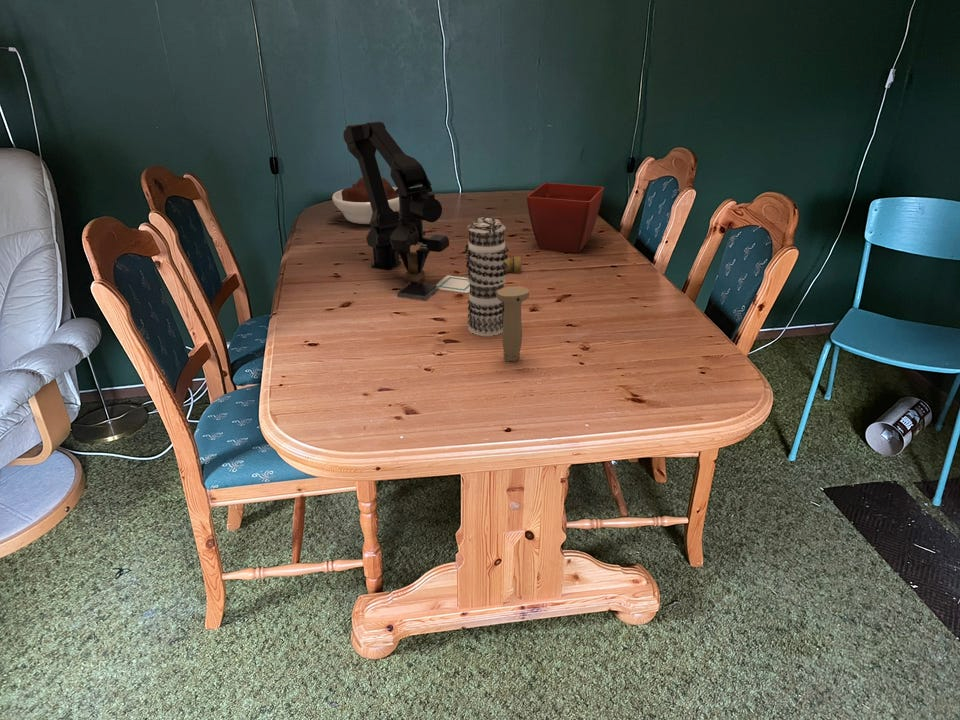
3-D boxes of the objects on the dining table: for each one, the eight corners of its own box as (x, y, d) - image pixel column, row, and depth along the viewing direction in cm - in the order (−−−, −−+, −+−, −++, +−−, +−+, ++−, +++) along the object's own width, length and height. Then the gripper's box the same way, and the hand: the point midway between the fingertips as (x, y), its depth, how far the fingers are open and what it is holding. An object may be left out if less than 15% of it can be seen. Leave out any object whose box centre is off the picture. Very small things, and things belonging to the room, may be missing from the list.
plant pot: (523, 251, 194) (525, 195, 187) (542, 233, 210) (544, 181, 202) (585, 258, 188) (590, 201, 180) (600, 240, 204) (604, 186, 196)
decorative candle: (493, 340, 140) (494, 229, 129) (458, 331, 145) (456, 222, 133) (514, 325, 147) (516, 218, 135) (480, 317, 151) (479, 212, 140)
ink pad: (397, 296, 163) (397, 291, 162) (411, 285, 170) (411, 281, 169) (426, 300, 160) (425, 295, 160) (439, 289, 167) (438, 284, 166)
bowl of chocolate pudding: (319, 223, 222) (314, 179, 215) (370, 208, 240) (366, 167, 233) (373, 235, 209) (369, 189, 202) (421, 218, 227) (419, 175, 220)
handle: (492, 356, 134) (493, 289, 127) (520, 351, 136) (522, 284, 129) (502, 366, 130) (503, 298, 123) (530, 361, 132) (533, 293, 125)
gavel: (482, 241, 194) (515, 240, 194) (482, 255, 196) (515, 255, 196) (485, 259, 175) (521, 258, 175) (485, 275, 177) (521, 275, 177)
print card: (432, 288, 168) (432, 287, 168) (447, 275, 176) (447, 274, 176) (467, 293, 165) (467, 292, 164) (481, 280, 173) (481, 279, 173)
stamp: (404, 281, 172) (403, 255, 169) (411, 276, 176) (409, 250, 172) (418, 283, 171) (416, 257, 168) (424, 278, 174) (423, 252, 171)
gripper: (363, 218, 161) (368, 277, 168) (430, 225, 155) (433, 286, 162) (384, 207, 170) (388, 263, 178) (449, 214, 164) (450, 271, 172)
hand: (414, 271), depth 172 cm, fingers closed on stamp, 3 cm apart
